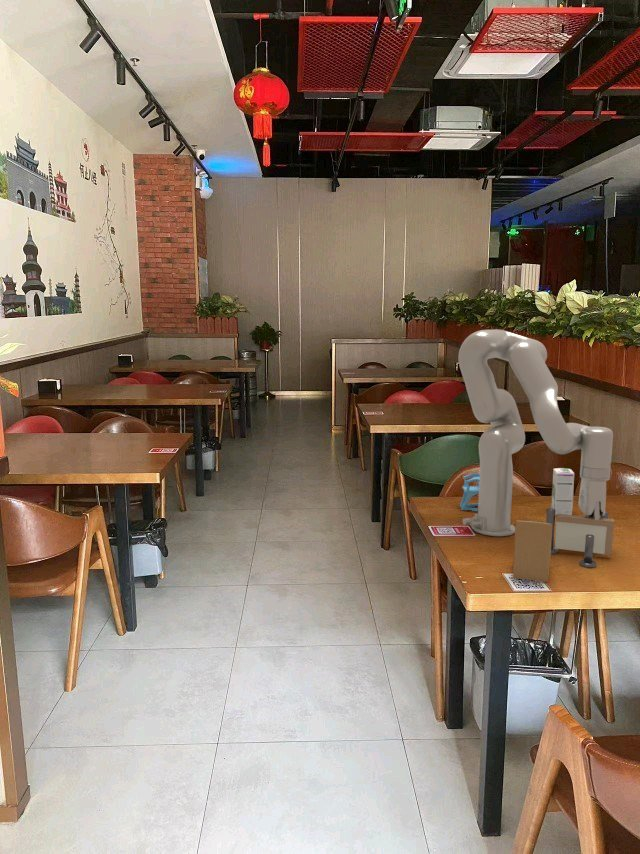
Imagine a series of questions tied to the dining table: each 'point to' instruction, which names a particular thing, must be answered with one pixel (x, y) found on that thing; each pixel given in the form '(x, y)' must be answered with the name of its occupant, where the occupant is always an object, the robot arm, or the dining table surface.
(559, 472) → the syrup box
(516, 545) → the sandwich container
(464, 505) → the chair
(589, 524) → the panel
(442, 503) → the dining table surface
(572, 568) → the dining table surface
